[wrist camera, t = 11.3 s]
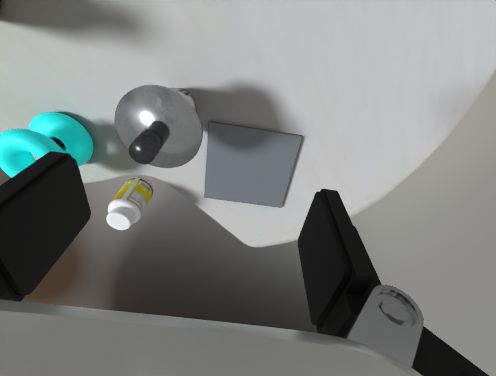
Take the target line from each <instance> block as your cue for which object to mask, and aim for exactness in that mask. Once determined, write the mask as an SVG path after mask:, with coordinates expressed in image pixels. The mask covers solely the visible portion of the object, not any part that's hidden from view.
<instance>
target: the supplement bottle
mask: <svg viewBox="0 0 496 376" xmlns="http://www.w3.org/2000/svg"><path fill="white" fill-rule="evenodd" d="M152 194H153V187H152V185H151V184H150V183H149V182H148V181H147V180H145V179H144V178H140V177H132V178H130V179H128V180H127V181H126V182H125V184H124V185H123V187H122V188H121V189H120V191H119V192H118V194H117V195H116V196H115V197H114V199H113V200H112V201H111V203H110V204H109V207H108V212H109V214H108V216H107V222H108V224H109V225H110V226H111V227H113V228H115V229H118V230H125V229H128V228H129V227H130V225H131V224H133V223H136V222H137V221H138V220H139V218H140V217H141V215H142V213H143V211H144V209H145V208H146V206H147V204H148V202H149V200H150V198H151V196H152Z"/></svg>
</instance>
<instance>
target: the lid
mask: <svg viewBox="0 0 496 376" xmlns="http://www.w3.org/2000/svg"><path fill="white" fill-rule="evenodd" d="M115 126H116V130H117V133H118V135H119V137H120V139H121V141H122V143H123V144H124V146H125V147H126V148H127V149H128V150H129V154H130V156H131V157H132V158H133V159H134V160H135V161H136V162H138V163H141V164H150V165H153V166H156V167H161V168H173V167H178V166H181V165H184V164H186V163H187V162H189V161H190V160H191V159H193V157H194V156H195V155H196V154H197V152H198V150H199V148H200V145H201V142H202V137H203V129H202V123H201V120H200V118H199V115H198V113H197V112H196V110H195V108H194V107H193V106H192V104H191V103H190V102H189V101H188V100H187V99H186V98H185V97H183V96H182V95H181V94H179V93H178V92H176V91H174V90H172V89H170V88H167V87H164V86H159V85H144V86H140V87H137V88H135V89H133V90H131V91H130V92H128V93H127V94H126V95H124V96H123V98H122V99H121V100H120V102H119V103H118V105H117V108H116V112H115Z"/></svg>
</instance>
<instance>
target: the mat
mask: <svg viewBox="0 0 496 376" xmlns="http://www.w3.org/2000/svg"><path fill="white" fill-rule="evenodd" d="M301 139H302V135H295V134H289V133H282V132H276V131H269V130H263V129H256V128H249V127H243V126H236V125H230V124H223V123H217V122H210V121H209V128H208V144H207V160H206V177H205V193H204V198H211V199H219V200H227V201H234V202H242V203H249V204H257V205H264V206H272V207H279V208H281V207H282V204H283V200H284V197H285V193H286V190H287V187H288V183H289V180H290V176H291V173H292V170H293V166H294V163H295V159H296V156H297V153H298V149H299V146H300V142H301Z"/></svg>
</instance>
